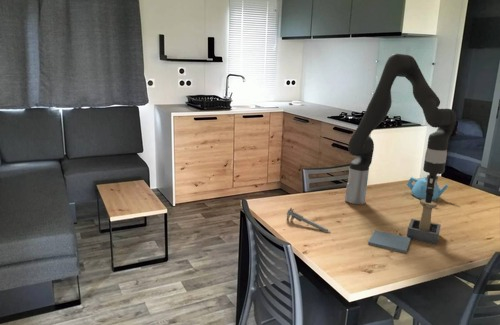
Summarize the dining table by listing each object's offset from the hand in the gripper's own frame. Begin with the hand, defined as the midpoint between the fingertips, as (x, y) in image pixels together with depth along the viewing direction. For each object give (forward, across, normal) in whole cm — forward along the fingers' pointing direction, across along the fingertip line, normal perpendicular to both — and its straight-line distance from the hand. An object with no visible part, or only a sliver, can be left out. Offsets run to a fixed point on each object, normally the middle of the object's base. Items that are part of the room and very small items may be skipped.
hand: (429, 199), depth 162 cm
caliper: (+16, +16, -44) cm, 50 cm away
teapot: (+16, -55, -4) cm, 58 cm away
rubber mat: (+16, +13, -11) cm, 23 cm away
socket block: (+16, 0, 0) cm, 16 cm away
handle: (+16, 0, 0) cm, 16 cm away
